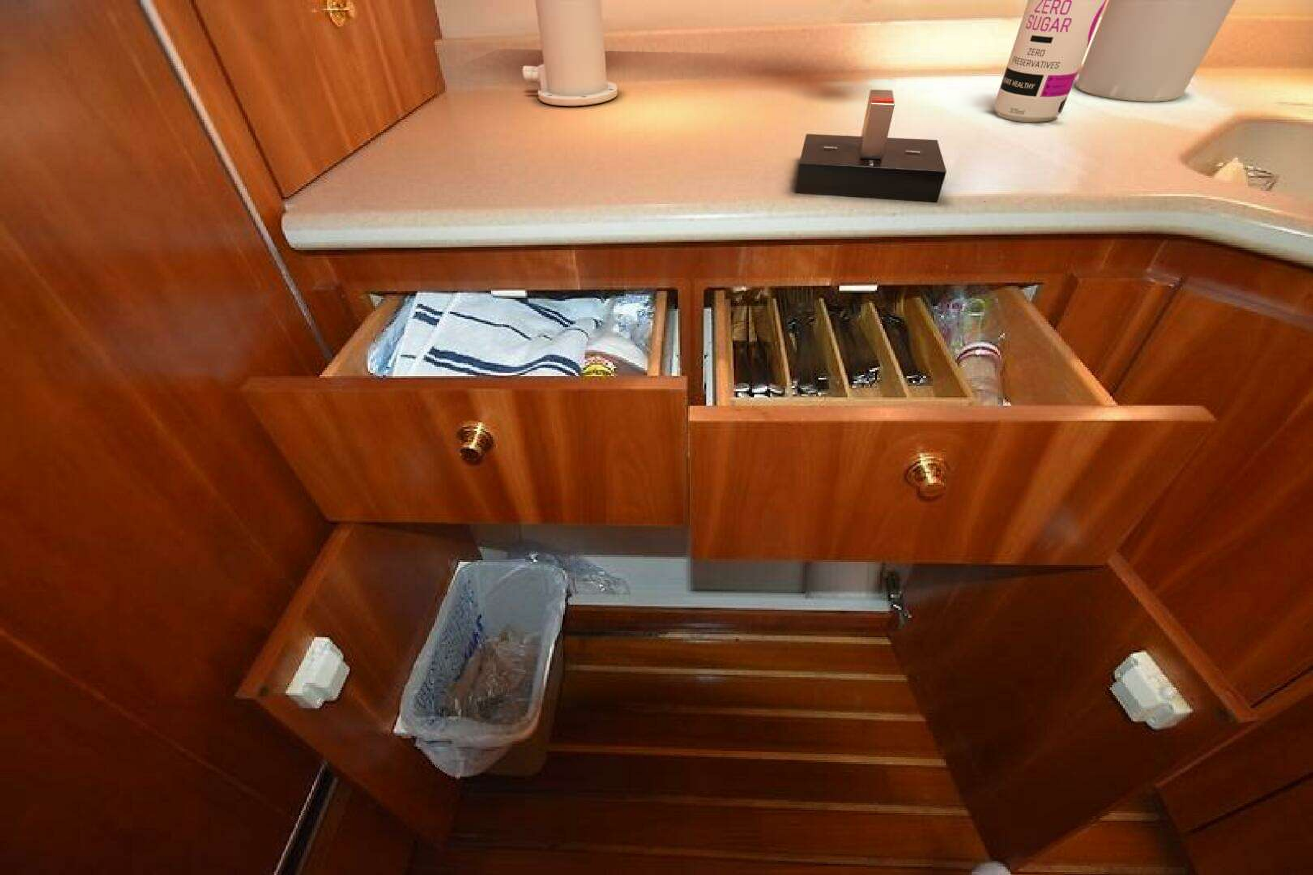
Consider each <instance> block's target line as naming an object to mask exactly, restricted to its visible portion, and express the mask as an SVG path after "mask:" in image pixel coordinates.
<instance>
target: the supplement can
mask: <svg viewBox="0 0 1313 875" xmlns="http://www.w3.org/2000/svg"><path fill="white" fill-rule="evenodd" d="M1106 3H1107V0H1028V1H1027V3H1026V7H1025V10H1024V13H1023V15H1022V19H1021V22H1020V25H1019V28H1018V31H1017V34H1016V37H1015V40H1014V43H1013V46H1012V49H1011V52H1010V56H1009V58H1008V62H1007V65H1006V68H1005V71H1004V74H1003V78H1002V80H1001V82H1000V86H999V89H998V92H997V95H996V98H995V101H994V104H993V108H994V110H995V111H996V114H997V115H998V116H999V117H1000V118H1002V119H1003V118H1004V119H1006V120H1010V121H1015V122H1021V123H1046V122H1049V121H1052V120H1054V119H1055V118H1056V117H1058V116H1059V115H1061V114H1062V112H1063V110H1064V108H1065V105H1066V102H1067V100H1068V97H1069V95H1070V92H1071V90H1072V88H1073V86H1074V82H1075V80H1076V78H1077V75H1078V73H1079V70H1080V67H1081V65H1082V63H1083V60H1084V58H1085V55H1086V54H1087V53H1086V52H1087V50H1088V49H1089V48H1088V47H1089V45H1090V43H1091V40H1092V39H1093V38H1092V37H1093V35H1094V34H1095V30H1096V28H1097V25H1098V22H1099V21H1100V18H1101V16H1102V13H1103V10H1104V8H1105V5H1106Z"/></svg>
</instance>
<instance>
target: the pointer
mask: <svg viewBox="0 0 1313 875" xmlns="http://www.w3.org/2000/svg"><path fill="white" fill-rule="evenodd" d="M894 110H895V98H894V92H893V90H892V89H870V90H869V94H868V98H867V104H866V110H865V113H864V114H865V115H864V121H863V126H862V130H861V135H860V136H861V140H860V158H871V159H883V155H884V150H885V146H886V141H887V138H889V131H890V127H891V123H892V119H893V114H894Z"/></svg>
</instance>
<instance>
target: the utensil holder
mask: <svg viewBox="0 0 1313 875" xmlns="http://www.w3.org/2000/svg"><path fill="white" fill-rule="evenodd" d="M1235 2H1236V0H1108V2H1107V4H1106V6H1105V9H1104V11H1103V14H1102V15H1101V16H1102V17H1101V19H1100V20H1099V21H1100V22H1099V24H1098V27H1097V29H1096V31H1095V32H1094V36H1093V38H1092V41H1091V42H1090V43H1091V44H1090V46H1089V48H1088V51H1087V53H1086V56H1085V59H1084V62H1083V64H1082V66H1081V70H1080V72H1079V75H1078V77H1077V80H1076V84H1075V85H1076V87H1077V88H1078V89H1079V90H1081V91H1082V92H1085V93H1087V94H1089V95H1090V94H1091V95H1094V96H1099V97H1101V98H1102V97H1103V98H1108V99H1114V100H1120V101H1130V102H1145V103H1146V102H1148V103H1149V102H1151V103H1153V102H1168V101H1173V100H1177V99H1179V98H1180V97H1182V96H1183V94H1184V92H1185V91H1186V89H1187V87H1188V86H1189V84H1190V83H1191V81H1192V79H1193V77H1194V75H1195V74H1196V72H1197V70H1198V69H1199V67H1200V65H1201V64H1202V62H1203V60H1204V58H1205V56H1206V55H1207V53H1208V51H1209V50H1210V48H1211V45H1212V44H1213V42H1214V40H1215V39H1216V37H1217V35H1218V33H1219V32H1220V30H1221V29H1222V28H1221V27H1222V26H1223V24H1224V22H1225V20H1226V18H1227V16H1228V14H1229V13H1230V11H1231V9H1232V8H1233V6H1234V4H1235Z"/></svg>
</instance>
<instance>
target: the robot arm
mask: <svg viewBox="0 0 1313 875" xmlns="http://www.w3.org/2000/svg"><path fill="white" fill-rule="evenodd" d="M534 2H535V8H536V15H537V22H538V23H537V24H538V30H539V31H538V32H539V37H540V46H541V53H542V61H543V63H541V64H539V65H538V66H536V65H523V67H522V77H523V81H525V82H526V83H527V82H529V83H534V82H538V84H540V88H538V90H537V96H538V100H539V101H540V102H542V103H544V104H548V105H551V106H559V107H560V106H563V107H579V106H589V105H597V104H601V103H605V102H608V101H611V100H614V99H615V98H616V97H617V96H618V94H619V93H618V86H617V85H616V84H615V83H614V82H611V81H608V74H607V62H606V49H605V37H604V35H605V34H604V20H603V10H602V9H603V8H602V7H603V6H602V0H534Z"/></svg>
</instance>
